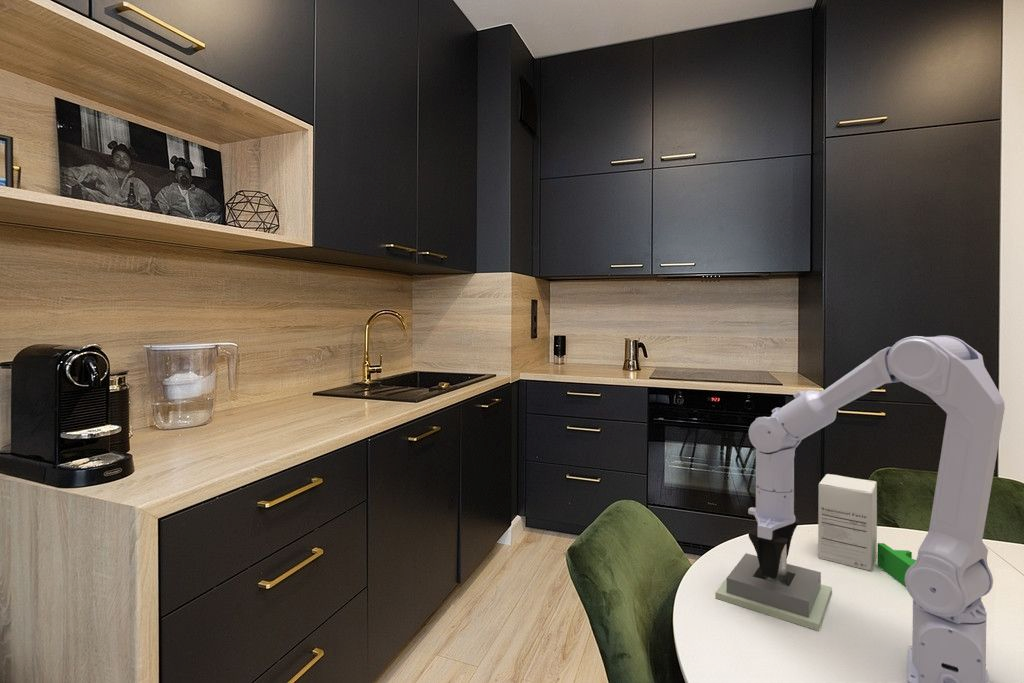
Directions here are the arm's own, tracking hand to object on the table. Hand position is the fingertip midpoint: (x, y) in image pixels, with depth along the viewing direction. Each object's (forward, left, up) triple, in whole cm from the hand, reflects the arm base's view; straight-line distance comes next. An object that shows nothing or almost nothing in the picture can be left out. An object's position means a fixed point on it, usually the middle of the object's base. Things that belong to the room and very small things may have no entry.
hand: (774, 567), depth 85 cm
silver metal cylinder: (0, 0, -4) cm, 4 cm away
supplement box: (+25, -8, -5) cm, 27 cm away
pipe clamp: (+20, -17, -5) cm, 27 cm away
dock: (0, 0, -5) cm, 5 cm away
